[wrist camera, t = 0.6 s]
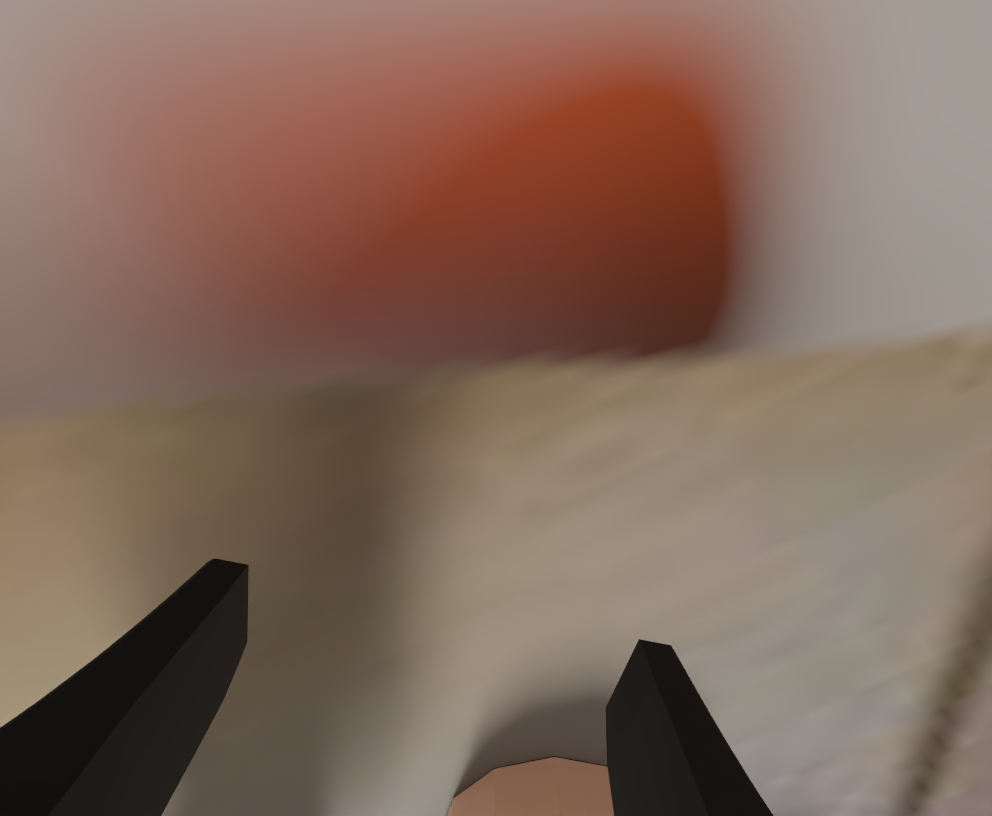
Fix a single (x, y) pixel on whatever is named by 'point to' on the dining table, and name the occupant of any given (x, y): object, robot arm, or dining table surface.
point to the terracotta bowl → (538, 791)
